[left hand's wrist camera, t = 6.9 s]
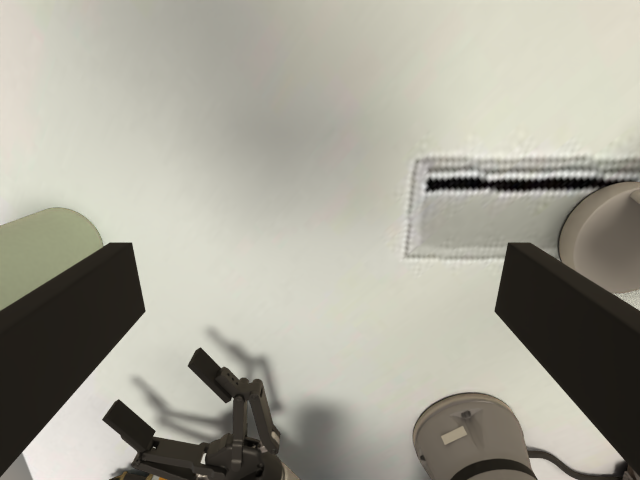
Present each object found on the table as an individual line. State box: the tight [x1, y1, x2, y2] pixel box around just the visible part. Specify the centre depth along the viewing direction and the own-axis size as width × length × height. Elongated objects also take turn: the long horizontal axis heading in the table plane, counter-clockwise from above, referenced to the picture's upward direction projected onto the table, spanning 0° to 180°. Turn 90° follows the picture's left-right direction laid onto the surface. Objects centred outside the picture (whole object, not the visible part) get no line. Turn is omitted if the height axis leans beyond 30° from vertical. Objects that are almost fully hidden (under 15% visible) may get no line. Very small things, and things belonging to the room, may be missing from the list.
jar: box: [0, 208, 103, 311], centre depth 34 cm, size 9×9×17 cm
